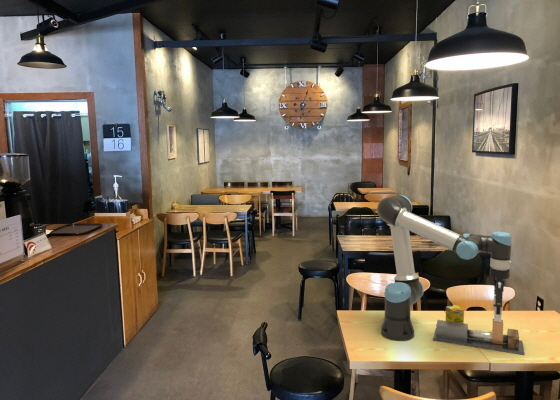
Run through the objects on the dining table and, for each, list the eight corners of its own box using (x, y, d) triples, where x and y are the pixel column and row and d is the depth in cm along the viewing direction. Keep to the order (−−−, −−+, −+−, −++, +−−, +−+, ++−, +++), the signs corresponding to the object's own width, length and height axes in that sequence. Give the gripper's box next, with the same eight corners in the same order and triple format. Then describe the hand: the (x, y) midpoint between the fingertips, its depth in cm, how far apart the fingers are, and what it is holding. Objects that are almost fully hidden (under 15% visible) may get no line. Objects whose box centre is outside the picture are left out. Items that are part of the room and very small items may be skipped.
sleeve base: (433, 340, 191) (433, 326, 190) (435, 330, 201) (436, 317, 201) (524, 355, 175) (525, 340, 174) (522, 343, 186) (522, 329, 185)
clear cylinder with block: (462, 338, 189) (462, 318, 188) (462, 334, 192) (463, 314, 191) (513, 346, 180) (513, 324, 179) (512, 342, 184) (513, 321, 183)
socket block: (508, 347, 179) (508, 335, 179) (507, 340, 186) (507, 328, 186) (518, 349, 178) (519, 337, 177) (517, 341, 185) (517, 329, 184)
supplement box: (453, 333, 198) (453, 310, 197) (445, 328, 204) (445, 306, 202) (463, 331, 200) (464, 309, 198) (455, 326, 205) (455, 304, 204)
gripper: (511, 277, 168) (508, 327, 171) (508, 261, 190) (505, 306, 193) (490, 274, 171) (487, 324, 174) (489, 260, 194) (487, 304, 196)
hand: (497, 315), depth 183 cm, fingers open, 13 cm apart
